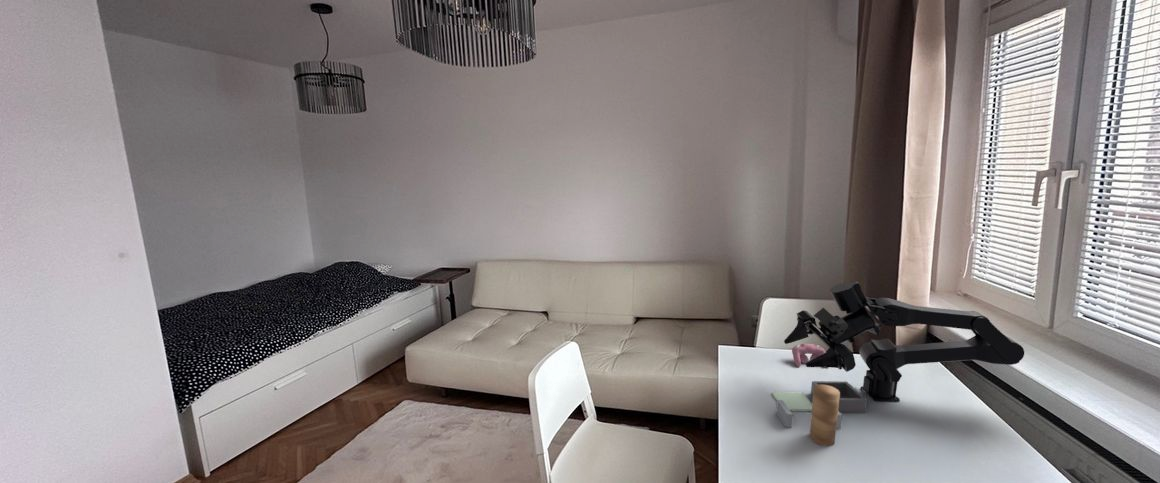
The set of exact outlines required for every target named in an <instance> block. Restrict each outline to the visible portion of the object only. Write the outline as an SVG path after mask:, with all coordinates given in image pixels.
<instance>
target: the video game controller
mask: <svg viewBox="0 0 1160 483" xmlns="http://www.w3.org/2000/svg"><path fill="white" fill-rule="evenodd" d="M824 353H826V350H825V349H824V348H823V347H822V346H820V345H818V344H814V343H802V344H797V345H794V346H793V347H792V348H791V354H792V358H793V361H794V363H795V365H796V366H797V367H798V368H800V367H801V364H802V363H803V364H806V363H807V362H809V361H810V360H812V359H814V358H816V357H818V356H820V355H822V354H824ZM807 354H808V355H811V356H810V357H809V358H808V355H807ZM809 359H810V360H809ZM826 368H829V367H826Z"/></svg>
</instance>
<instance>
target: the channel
mask: <svg viewBox="0 0 1160 483" xmlns="http://www.w3.org/2000/svg"><path fill="white" fill-rule="evenodd" d="M776 414H777V416H778V417H779V419H780V420H781V422H782V424H783V426H784V427H785V428H786V429H789V428H790V429H792V427H793V415H794V414H793V412H792V411H790V410H789V409H788V407H787V406H786V404H785V403H784V402H783V400H777V401H776ZM842 420H843V414H842V413H840V412H839V411H838V417H837V426H836V429H839V430H840V429H842Z"/></svg>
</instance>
